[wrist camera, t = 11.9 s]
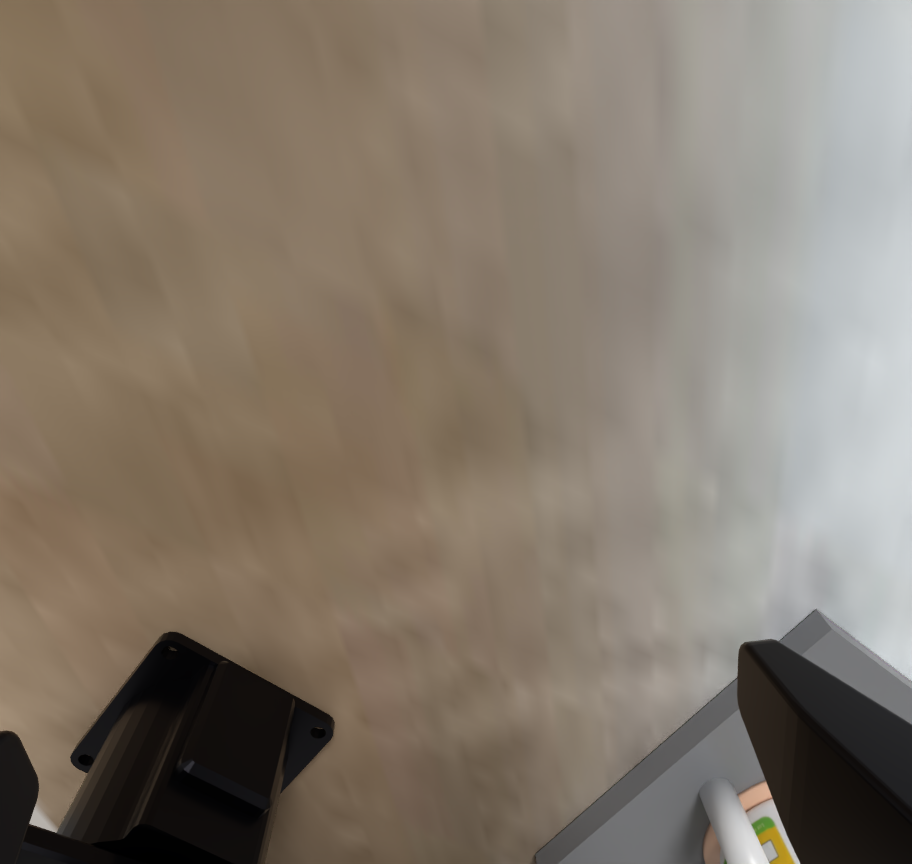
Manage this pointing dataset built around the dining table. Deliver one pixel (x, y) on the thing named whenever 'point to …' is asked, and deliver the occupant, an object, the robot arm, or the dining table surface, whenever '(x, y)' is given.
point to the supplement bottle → (770, 834)
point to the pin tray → (712, 773)
